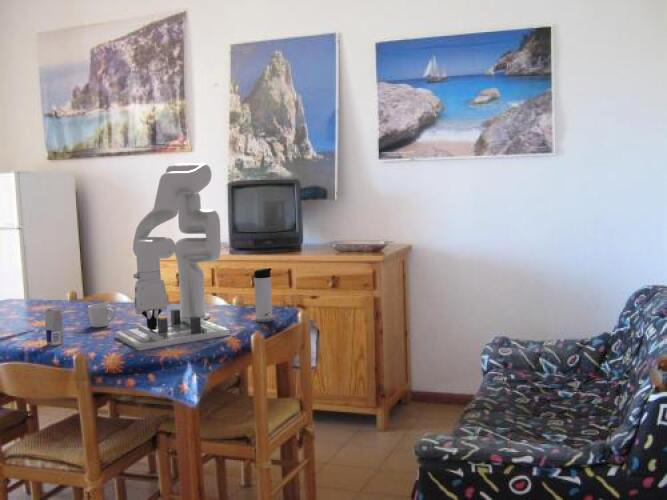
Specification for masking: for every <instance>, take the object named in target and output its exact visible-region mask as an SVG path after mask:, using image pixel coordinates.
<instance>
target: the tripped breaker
mask: <svg viewBox="0 0 667 500" xmlns="http://www.w3.org/2000/svg"><path fill="white" fill-rule="evenodd" d="M168 324H169V323H168V317H167V316H165V315H161V316H159V315H158V317H157V325H158V331H159V332H167V331H168Z"/></svg>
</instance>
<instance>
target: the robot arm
mask: <svg viewBox="0 0 667 500" xmlns="http://www.w3.org/2000/svg"><path fill="white" fill-rule="evenodd" d="M212 174H213V173H212V170H211V167H210V166H209V165H208V164H206V163H203V162H201V163H200V162H197V163H176V164H171V165H168V166H167V167H166V170H165V173H163V174H162V175H161V176H160V178H159V181H158V186H157V191H156V195H155V200H154V205H153V208H152V209H151V210H150V211H149V212H148V213H147V214H146V215H145V216H144V217H143V218H142V219H141V220H140V222H139V223H138V225H137V226H136V230H135V233H134V238H133V243H132V244H133V245H132V252H133V254H134V255H135V258H136V273H134V274H133V275H132V277H133V279H137V280H135V286H134V307H135V310H134V313H135V315H142V316H143V317H144V318H145V319H146V327H148V328H149V330H156V327H157V325H158V320H157V317H159V315H161V313H162V312H166V311H167V310H168V309H167V307H168V297H167V290H166V283H165V281H164V278H162V277H161V276H162V275H161V263H160V261H161V260H162V259H163V260H164V259H169V258H171V257H173V256H174V255H175V259H176V262H177V271H178V284H179V285H178V286H179V304H180V305H179V308H180V319H183V320H185V321H190V317H196V316H197V317H200V319H203V320H208V319H209V318H210V317H211V315H210V313H208V312H206V295H205V294H206V293H205V291H206V290H205V277H204V276H205V275H204V270H203V269H202V267H201V266H200V264H199V263H214V262H217V261H218V260H219V259H220V257H221V219H220V215H219V213H218V212H217V211H216V210H214V209H212V208H211V209H209V208H208V209H207V208H206V209H204V208H201V195H200V192H201V191H203V190H204V189H205V188H206V187H207V186H208V185H209V184H210V182H211V179H212ZM177 215H178V218H177V219H178V221H177V222H178V229H179V231H180V232H181V233H183V234H184V235H205V237H183V238H180V239H179V240H177V241H176V242H175V241H174V240H173V239H172V238H170V237H167V236H149V235H150V233H151V232H152V231H153V230H154V229H155V228H156V227H159V226H161V225H162V224H164V223H166V222H169V221H170V220H173V219H174V218H176V217H177ZM160 259H161V260H160Z"/></svg>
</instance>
